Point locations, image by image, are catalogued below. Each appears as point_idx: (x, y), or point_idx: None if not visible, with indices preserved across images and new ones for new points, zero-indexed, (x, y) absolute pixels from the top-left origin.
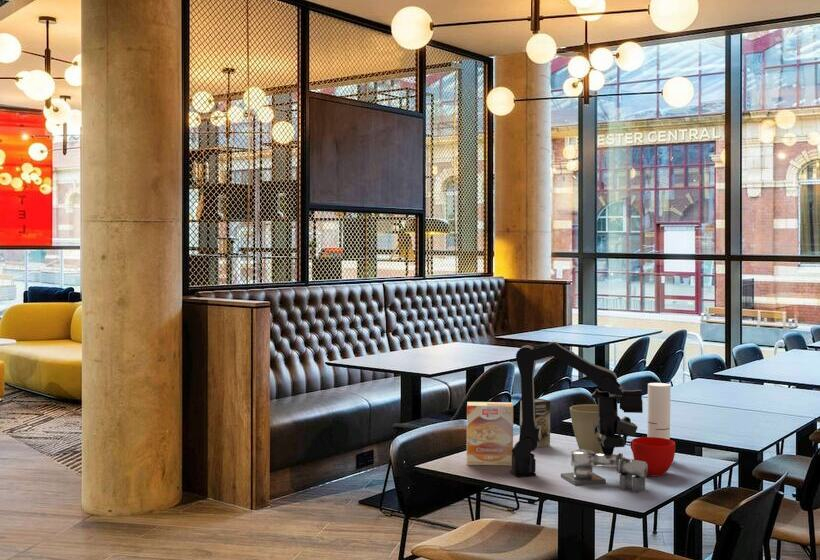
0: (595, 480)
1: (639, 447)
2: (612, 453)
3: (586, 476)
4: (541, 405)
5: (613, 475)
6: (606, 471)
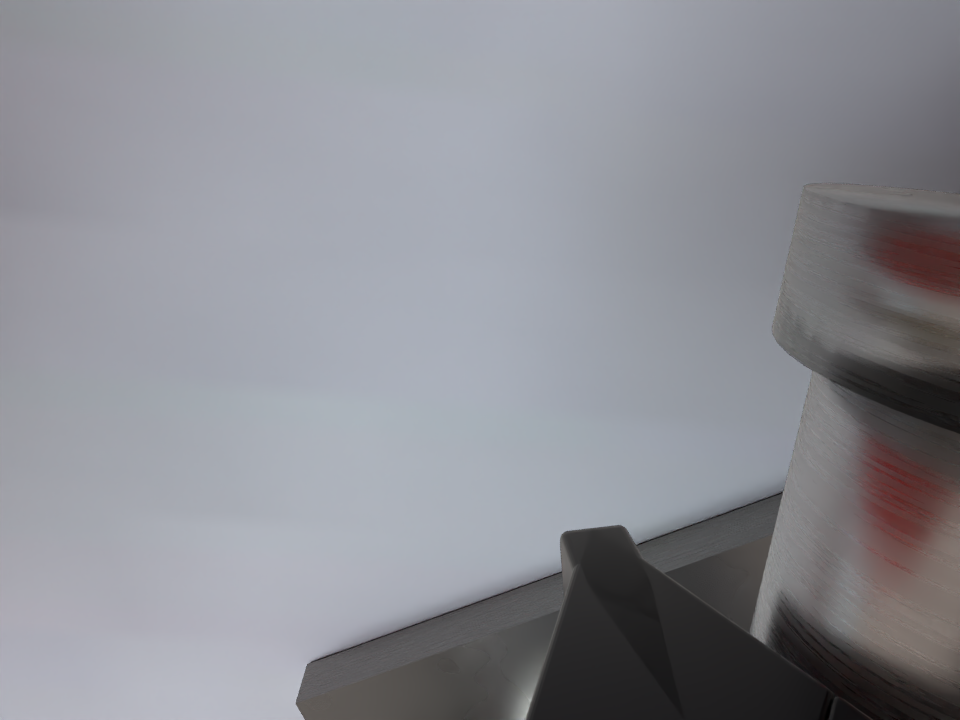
0: None
1: None
2: (810, 688)
3: None
4: None
5: (289, 286)
6: (9, 390)
